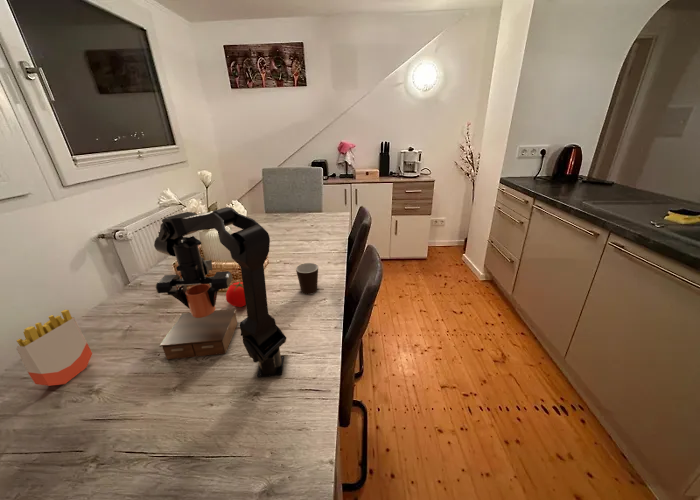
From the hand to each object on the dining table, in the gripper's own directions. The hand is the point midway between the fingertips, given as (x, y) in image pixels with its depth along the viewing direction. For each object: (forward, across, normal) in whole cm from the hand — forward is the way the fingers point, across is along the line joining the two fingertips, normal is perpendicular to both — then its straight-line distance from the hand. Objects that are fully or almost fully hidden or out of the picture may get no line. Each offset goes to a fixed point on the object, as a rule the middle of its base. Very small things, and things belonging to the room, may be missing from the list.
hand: (202, 306), depth 83 cm
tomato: (+12, -5, -18) cm, 23 cm away
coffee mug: (+12, -30, -26) cm, 41 cm away
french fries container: (+12, +33, +10) cm, 37 cm away
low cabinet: (+12, +2, +1) cm, 12 cm away
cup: (+2, 0, 0) cm, 2 cm away
